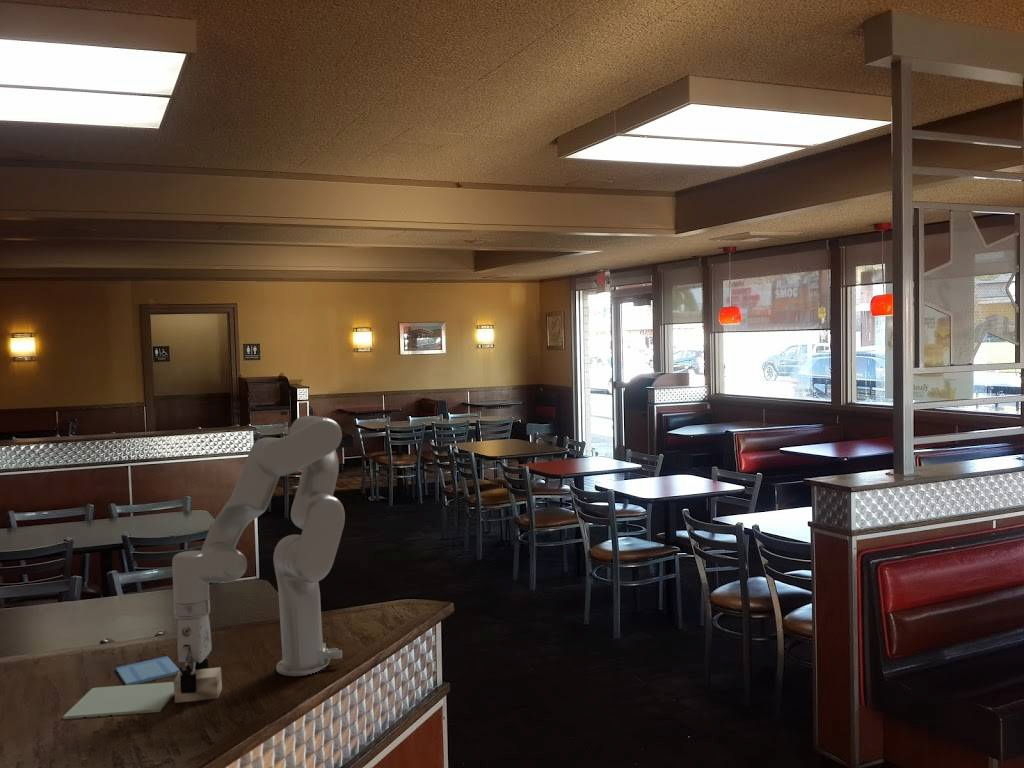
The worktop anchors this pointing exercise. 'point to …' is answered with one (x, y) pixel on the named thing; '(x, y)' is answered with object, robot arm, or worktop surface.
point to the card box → (201, 686)
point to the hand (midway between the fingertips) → (195, 684)
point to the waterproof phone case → (147, 670)
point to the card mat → (122, 700)
